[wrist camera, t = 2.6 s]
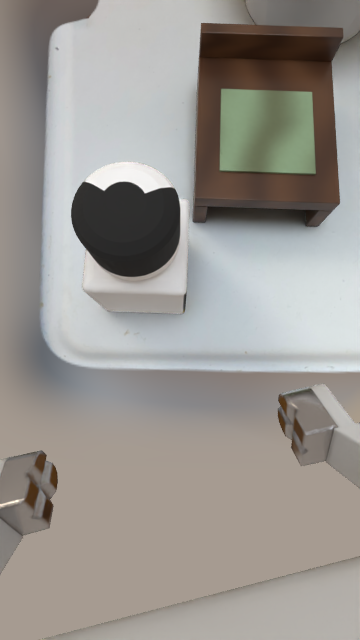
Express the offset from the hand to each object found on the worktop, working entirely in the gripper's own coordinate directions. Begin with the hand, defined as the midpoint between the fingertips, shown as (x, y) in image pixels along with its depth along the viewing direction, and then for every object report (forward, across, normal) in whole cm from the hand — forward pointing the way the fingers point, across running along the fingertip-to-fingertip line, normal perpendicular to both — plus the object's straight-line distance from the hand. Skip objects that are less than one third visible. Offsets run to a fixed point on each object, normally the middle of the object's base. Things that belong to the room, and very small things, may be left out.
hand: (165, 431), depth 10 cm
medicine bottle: (+19, 0, +3) cm, 19 cm away
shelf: (+26, -13, -4) cm, 29 cm away
